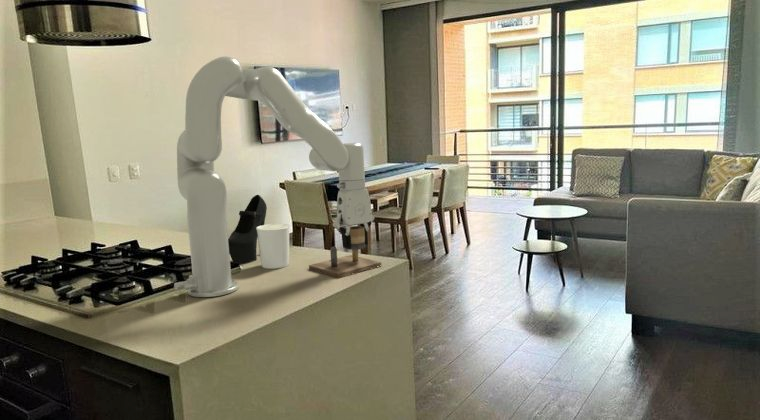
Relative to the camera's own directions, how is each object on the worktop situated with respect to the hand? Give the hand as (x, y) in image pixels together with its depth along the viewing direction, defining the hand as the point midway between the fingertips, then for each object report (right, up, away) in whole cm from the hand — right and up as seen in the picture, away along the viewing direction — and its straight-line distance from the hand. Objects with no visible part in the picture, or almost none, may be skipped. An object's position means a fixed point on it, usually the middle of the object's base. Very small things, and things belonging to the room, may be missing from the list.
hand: (355, 245), depth 163 cm
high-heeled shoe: (-34, -6, +13) cm, 37 cm away
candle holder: (-25, -7, +4) cm, 26 cm away
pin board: (-3, -6, -2) cm, 7 cm away
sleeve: (0, -1, 0) cm, 1 cm away
